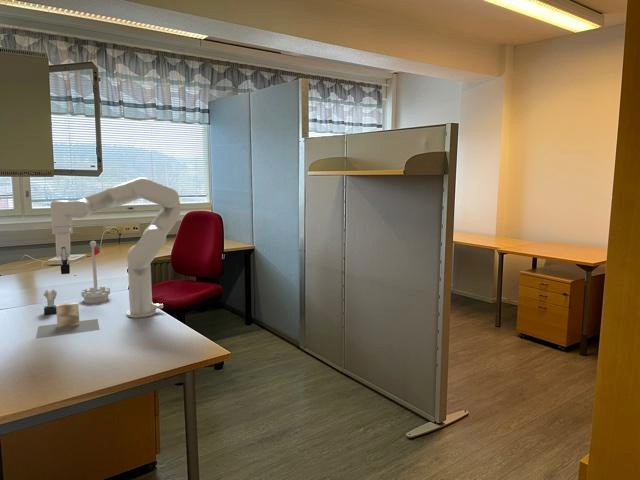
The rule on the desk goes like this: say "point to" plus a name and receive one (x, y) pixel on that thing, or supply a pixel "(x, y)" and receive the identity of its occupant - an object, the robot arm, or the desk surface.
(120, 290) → the desk surface
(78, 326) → the mat
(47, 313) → the watch
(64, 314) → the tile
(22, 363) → the desk surface
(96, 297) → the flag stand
